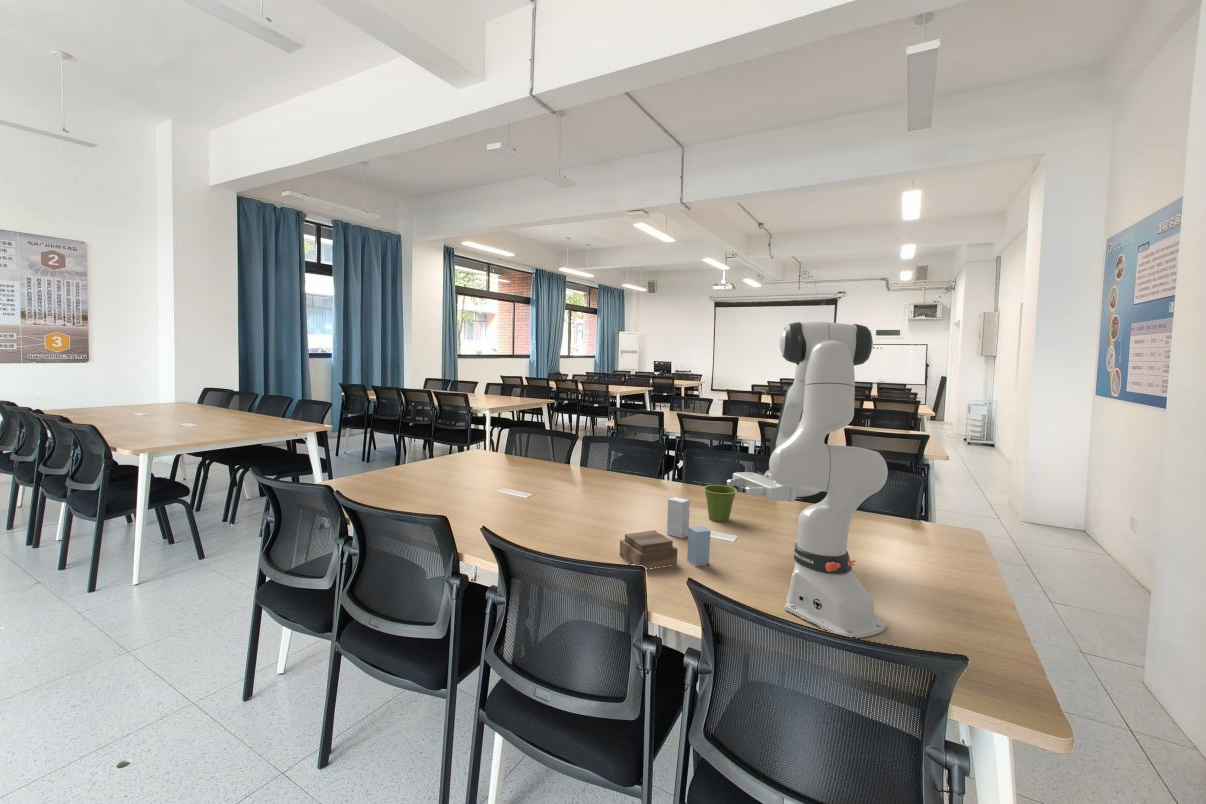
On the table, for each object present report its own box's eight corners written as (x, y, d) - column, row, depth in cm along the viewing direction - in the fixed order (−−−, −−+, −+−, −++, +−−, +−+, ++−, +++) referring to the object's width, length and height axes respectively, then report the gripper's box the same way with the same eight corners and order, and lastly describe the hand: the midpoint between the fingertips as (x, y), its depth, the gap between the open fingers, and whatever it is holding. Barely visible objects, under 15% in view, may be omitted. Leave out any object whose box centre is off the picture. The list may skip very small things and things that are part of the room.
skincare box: (688, 535, 179) (690, 500, 178) (681, 538, 176) (682, 502, 175) (673, 531, 183) (675, 496, 182) (666, 534, 180) (667, 498, 179)
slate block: (708, 565, 155) (710, 530, 154) (695, 566, 153) (696, 532, 152) (700, 559, 159) (702, 525, 158) (687, 560, 157) (688, 527, 156)
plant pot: (695, 518, 198) (696, 488, 197) (715, 512, 206) (716, 483, 205) (722, 526, 190) (724, 494, 189) (742, 520, 198) (743, 489, 197)
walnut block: (676, 565, 154) (677, 541, 153) (639, 572, 149) (640, 547, 148) (654, 551, 165) (655, 528, 164) (619, 556, 160) (620, 533, 159)
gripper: (755, 466, 173) (718, 468, 168) (800, 481, 154) (759, 484, 149) (754, 485, 173) (717, 488, 168) (798, 503, 154) (758, 507, 149)
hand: (737, 487), depth 158 cm, fingers open, 8 cm apart
